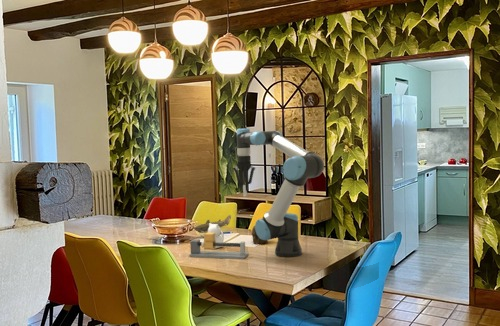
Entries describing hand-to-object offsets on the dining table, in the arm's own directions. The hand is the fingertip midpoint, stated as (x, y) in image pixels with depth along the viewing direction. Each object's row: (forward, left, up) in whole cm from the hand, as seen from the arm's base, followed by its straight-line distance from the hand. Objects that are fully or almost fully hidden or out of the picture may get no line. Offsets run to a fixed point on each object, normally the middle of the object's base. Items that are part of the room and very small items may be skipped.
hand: (245, 196), depth 290 cm
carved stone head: (-3, -23, -33) cm, 40 cm away
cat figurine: (+21, -8, -33) cm, 40 cm away
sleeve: (+18, +12, -28) cm, 36 cm away
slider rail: (+13, +12, -32) cm, 37 cm away
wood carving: (+35, -44, -33) cm, 65 cm away
